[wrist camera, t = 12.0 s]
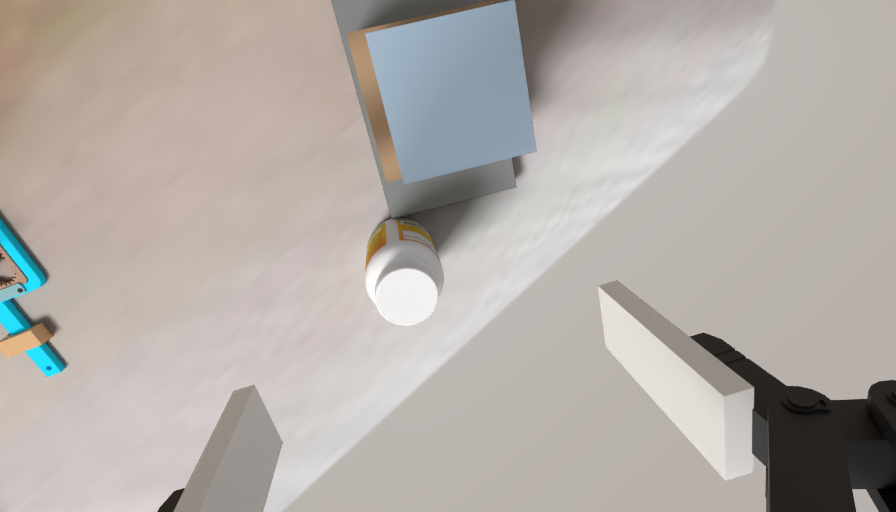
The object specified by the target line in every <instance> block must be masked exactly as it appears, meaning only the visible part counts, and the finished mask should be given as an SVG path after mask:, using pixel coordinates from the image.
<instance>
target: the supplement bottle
mask: <svg viewBox="0 0 896 512" xmlns="http://www.w3.org/2000/svg"><path fill="white" fill-rule="evenodd" d="M443 283H444V275H443V269H442V265H441V262H440V260H439V257H438V254H437V252H436V249H435V246H434V244H433V241H432V238H431V236H430V234H429V233H428V231H427V230H426V229H425V228H424V227H423V226H422V225H421V224H420V223H418V222H416V221H414V220H411V219H408V218H394V219H390V220H387V221H385V222H383V223H382V224H380V225H379V226H378V227H377V228H376V229H375V230H374V231H373V233H372V234H371V236H370V239H369V241H368V246H367V257H366V269H365V285H366V289H367V292H368V294H369V296H370V298H371V299H372V301H373V302H374V303H375V304H376V306H377V309H378V310H379V312H380V313H381V315H382V316H383V317H384V318H386V319H387V320H388V321H390V322H392V323H395V324H398V325H413V324H417V323H419V322H421V321H423V320H425V319H426V318H428V317H429V316H430V315H431V314H432V312H433V311H434V310H435V308H436V306H437V303H438V297H439V295H440V293H441V291H442V288H443Z"/></svg>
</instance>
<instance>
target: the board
mask: <svg viewBox="0 0 896 512" xmlns="http://www.w3.org/2000/svg"><path fill="white" fill-rule="evenodd" d="M331 1H332V5H333V9H334V12H335V16H336V19H337V23H338V27H339V30H340V34H341V38H342V41H343V45H344V48H345V52H346V56H347V59H348V63H349V67H350V70H351V74H352V77H353V81H354V85H355V88H356V92H357V95H358V99H359V103H360V106H361V110H362V114H363V117H364V121H365V124H366V128H367V132H368V135H369V139H370V143H371V146H372V150H373V153H374V157H375V161H376V164H377V168H378V172H379V175H380V179H381V182H382V186H383V190H384V193H385V197H386V200H387V204H388V208H389V211H390V215H391V219H392V218H396V217H400V216H404V215H408V214H412V213H416V212H420V211H424V210H428V209H432V208H436V207H440V206H444V205H448V204H452V203H456V202H460V201H464V200H468V199H472V198H476V197H480V196H484V195H488V194H492V193H496V192H500V191H504V190H508V189H512V188H515V187H516V181H515V175H514V169H513V163H512V158H509V159H505V160H501V161H497V162H493V163H489V164H485V165H481V166H476V167H472V168H468V169H464V170H460V171H456V172H452V173H448V174H444V175H440V176H436V177H432V178H428V179H424V180H420V181H416V182H412V183H408V184H404V182H403V178H402V179H398V180H394V181H390V182H386V179H385V175H384V171H383V168H382V164H381V160H380V157H379V153H378V149H377V146H376V142H375V138H374V135H373V131H372V127H371V123H370V120H369V116H368V112H367V109H366V105H365V101H364V98H363V94H362V90H361V87H360V83H359V79H358V76H357V72H356V68H355V65H354V61H353V57H352V54H351V50H350V46H349V43H348V39H347V35H346V33H350V32H354V31H358V30H363V29H367V28H372V27H376V26H380V25H385V24H389V23H394V22H398V21H402V20H407V19H411V18H416V17H420V16H425V15H429V14H433V13H438V12H442V11H447V10H451V9H455V8H460V7H464V6H469V5H473V4H478V3H482V2H486V0H331Z"/></svg>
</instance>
